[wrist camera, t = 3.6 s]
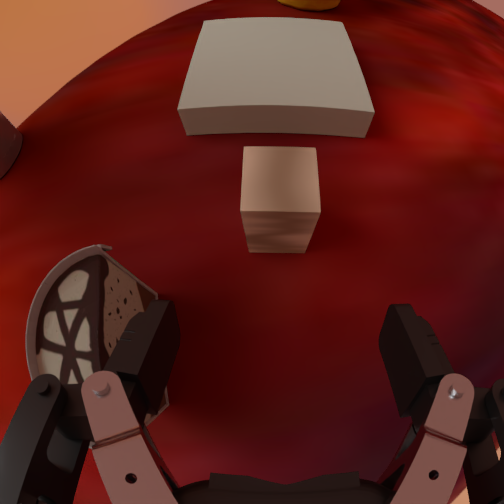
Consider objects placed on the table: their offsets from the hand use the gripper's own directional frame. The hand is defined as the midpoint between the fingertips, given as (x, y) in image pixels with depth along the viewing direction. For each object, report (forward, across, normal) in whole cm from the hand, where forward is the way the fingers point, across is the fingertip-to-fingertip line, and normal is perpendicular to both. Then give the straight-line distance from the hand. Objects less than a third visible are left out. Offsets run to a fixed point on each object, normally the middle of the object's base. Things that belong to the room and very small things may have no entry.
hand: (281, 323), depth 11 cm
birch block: (+15, 0, +3) cm, 15 cm away
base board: (+28, 0, -11) cm, 30 cm away
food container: (+7, +12, +11) cm, 17 cm away
